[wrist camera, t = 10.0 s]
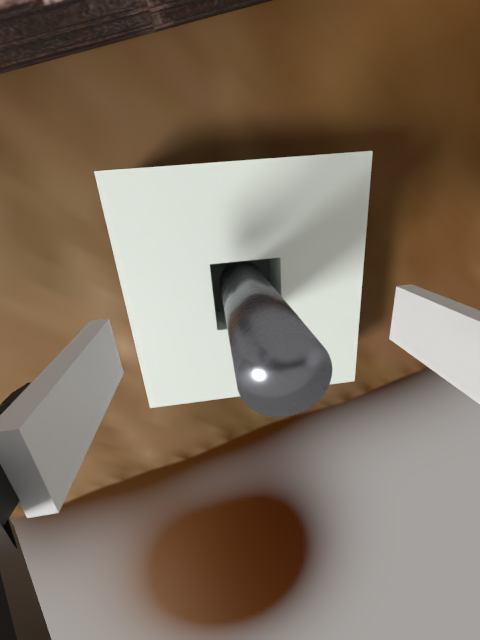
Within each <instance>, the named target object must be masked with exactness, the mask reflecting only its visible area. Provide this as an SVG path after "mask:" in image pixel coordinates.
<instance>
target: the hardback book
mask: <svg viewBox="0 0 480 640" xmlns="http://www.w3.org/2000/svg"><path fill="white" fill-rule="evenodd" d="M267 1H271V0H0V74H1V73H5V72H8V71H12V70H16V69H19V68H23V67H27V66H30V65H34V64H38V63H42V62H45V61H49V60H53V59H56V58H60V57H64V56H67V55H71V54H75V53H79V52H82V51H86V50H90V49H93V48H97V47H101V46H104V45H108V44H112V43H115V42H119V41H123V40H127V39H130V38H134V37H138V36H141V35H145V34H149V33H152V32H156V31H160V30H164V29H167V28H171V27H175V26H178V25H182V24H186V23H189V22H193V21H197V20H201V19H204V18H208V17H212V16H215V15H219V14H223V13H226V12H230V11H234V10H238V9H241V8H245V7H249V6H252V5H256V4H260V3H263V2H267Z"/></svg>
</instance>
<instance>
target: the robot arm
mask: <svg viewBox="0 0 480 640" xmlns="http://www.w3.org/2000/svg"><path fill="white" fill-rule="evenodd" d="M389 339H390V340H391V341H393V342H394V343H396V344H397V345H398V346H400V347H401V348H403V349H404V350H405V351H407V352H408V353H409V354H411V355H412V356H414V357H415V358H416V359H418V360H419V361H421V362H422V363H423V364H425V365H426V366H427V367H429V368H430V369H432V370H433V371H434V372H436V373H437V374H439V375H440V376H441V377H443V378H444V379H445V380H447V381H448V382H450V383H451V384H453V385H454V386H455V387H457V388H458V389H460V390H461V391H462V392H463V393H465V394H466V395H468V396H469V397H470V398H472V399H473V400H475V401H476V402H477V403H479V404H480V311H479V310H477V309H474V308H471V307H469V306H466V305H464V304H461V303H459V302H456V301H453V300H451V299H448V298H446V297H443V296H440V295H438V294H435V293H433V292H430V291H427V290H425V289H422V288H420V287H417V286H414V285H403V286H396V293H395V300H394V308H393V315H392V323H391V330H390V338H389ZM122 376H123V369H122V365H121V362H120V358H119V354H118V350H117V347H116V343H115V339H114V336H113V332H112V328H111V325H110V321H109V319H102V320H93V321H90V322H89V323H88V324H87V325H86V326H85V327H84V328H83V329H82V330H81V331H80V332H79V333H78V335H77V336H76V337H75V338H74V339H73V340H72V341H71V342H70V343H69V344H68V345H67V346H66V347H65V348H64V349H63V350H62V351H61V352H60V353H59V354H58V355H57V356H56V358H55V359H54V360H53V361H52V362H51V363H50V364H49V365H48V366H47V367H46V368H45V369H44V370H43V371H42V372H41V373H40V374H39V375H38V376H37V377H36V378H35V379H34V381H33V382H32V383H27V384H25V385H24V386H22V387H21V388H19V389H18V390H16V391H14V392H13V393H11V394H10V395H9V396H8V397H7V398H6V399H5V400H4V401H3V402H2V403H1V404H0V640H51V637H50V634H49V631H48V628H47V625H46V622H45V619H44V616H43V613H42V610H41V607H40V604H39V601H38V598H37V595H36V592H35V589H34V586H33V583H32V580H31V577H30V574H29V571H28V568H27V565H26V562H25V559H24V556H23V553H22V550H21V547H20V544H19V541H18V537H17V535H16V532H15V529H14V526H13V524H12V523H11V521H10V519H9V517H10V515H11V514H12V512H13V511H14V509H15V507H16V506H17V504H18V502H19V504H20V506H21V507H22V509H23V511H24V513H25V515H26V517H27V518H30V517H36V516H42V515H48V514H54V513H59V511H60V509H61V507H62V504H63V502H64V500H65V498H66V496H67V494H68V492H69V489H70V487H71V485H72V483H73V481H74V479H75V477H76V474H77V472H78V470H79V468H80V466H81V464H82V461H83V459H84V457H85V455H86V453H87V451H88V449H89V446H90V444H91V442H92V440H93V438H94V436H95V434H96V431H97V429H98V427H99V425H100V423H101V421H102V419H103V416H104V414H105V412H106V410H107V408H108V406H109V403H110V401H111V399H112V397H113V395H114V393H115V391H116V388H117V386H118V384H119V382H120V380H121V378H122Z"/></svg>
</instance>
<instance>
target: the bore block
mask: <svg viewBox="0 0 480 640" xmlns="http://www.w3.org/2000/svg"><path fill="white" fill-rule="evenodd" d="M372 154H373V151H363V152H349V153H336V154H322V155H309V156H295V157H281V158H268V159H254V160H241V161H227V162H214V163H200V164H187V165H173V166H159V167H146V168H132V169H119V170H105V171H94V173H95V177H96V182H97V186H98V190H99V194H100V199H101V203H102V207H103V211H104V215H105V220H106V224H107V228H108V232H109V237H110V241H111V245H112V249H113V253H114V258H115V262H116V266H117V270H118V275H119V279H120V283H121V287H122V291H123V296H124V300H125V304H126V308H127V312H128V317H129V321H130V325H131V329H132V334H133V338H134V342H135V346H136V350H137V355H138V359H139V363H140V367H141V372H142V376H143V380H144V384H145V388H146V393H147V397H148V401H149V405H150V408H154V407H161V406H169V405H177V404H184V403H192V402H199V401H207V400H215V399H222V398H230V397H237V396H240V394H239V392H238V388H237V383H236V377H235V371H234V365H233V359H232V353H231V347H230V342H229V336H228V330H227V324H226V318H225V312H224V306H223V300H222V295H221V289H220V276H221V273H222V271H223V270H224V268H225V267H226V266H228V265H229V264H230V263H232V262H239V261H248V262H250V263H252V264H254V265H255V266H256V267H257V268H258V269H259V270H260V272H261V273H262V274H263V275H264V276H265V278H266V279H267V280H268V281H269V282H270V283H271V285H272V286H273V287H274V288H275V289H276V291H277V292H278V293H279V294H280V295H281V296H282V298H283V299H284V300H285V301H286V302H287V304H288V305H289V306H290V307H291V308H292V310H293V311H294V312H295V313H296V314H297V315H298V317H299V318H300V319H301V320H302V321H303V323H304V324H305V325H306V326H307V327H308V328H309V330H310V331H311V332H312V333H313V334H314V336H315V337H316V338H317V339H318V340H319V342H320V343H321V344H322V345H323V346H324V348H325V349H326V350H327V352H328V354H329V356H330V359H331V362H332V377H331V381H330V384H336V383H344V382H351V381H355V368H356V355H357V343H358V330H359V318H360V305H361V292H362V280H363V267H364V255H365V242H366V229H367V217H368V204H369V192H370V179H371V166H372Z"/></svg>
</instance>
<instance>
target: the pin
mask: <svg viewBox="0 0 480 640" xmlns="http://www.w3.org/2000/svg"><path fill="white" fill-rule="evenodd" d="M220 289H221V295H222V300H223V306H224V312H225V318H226V324H227V330H228V336H229V342H230V347H231V353H232V359H233V365H234V371H235V377H236V383H237V388H238V392H239V394H240V396H241V398H242V400H243V401H244V402H245V404H246V405H247V406H249V407H250V408H251V409H252V410H254V411H256V412H258V413H260V414H263V415H266V416H271V417H286V416H292V415H295V414H298V413H300V412H303V411H305V410H307V409H308V408H310V407H311V406H313V405H314V404H315V403H316V402H318V401H319V399H320V398H321V397H322V396H323V395H324V393H325V392H326V390H327V388H328V386H329V384H330V381H331V377H332V362H331V359H330V356H329V354H328V352H327V350H326V349H325V348H324V346H323V345H322V344H321V343H320V342H319V340H318V339H317V338H316V337H315V336H314V334H313V333H312V332H311V331H310V330H309V328H308V327H307V326H306V325H305V324H304V323H303V321H302V320H301V319H300V318H299V317H298V315H297V314H296V313H295V312H294V311H293V310H292V308H291V307H290V306H289V305H288V304H287V302H286V301H285V300H284V299H283V298H282V296H281V295H280V294H279V293H278V292H277V291H276V289H275V288H274V287H273V286H272V285H271V283H270V282H269V281H268V280H267V279H266V278H265V276H264V275H263V274H262V273H261V272H260V270H259V269H258V268H257V267H256V266H255V265H254V264H252V263H250V262H248V261H239V262H232V263H230V264H229V265H228V266H226V267H225V268H224V270H223V271H222V273H221V276H220Z"/></svg>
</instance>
